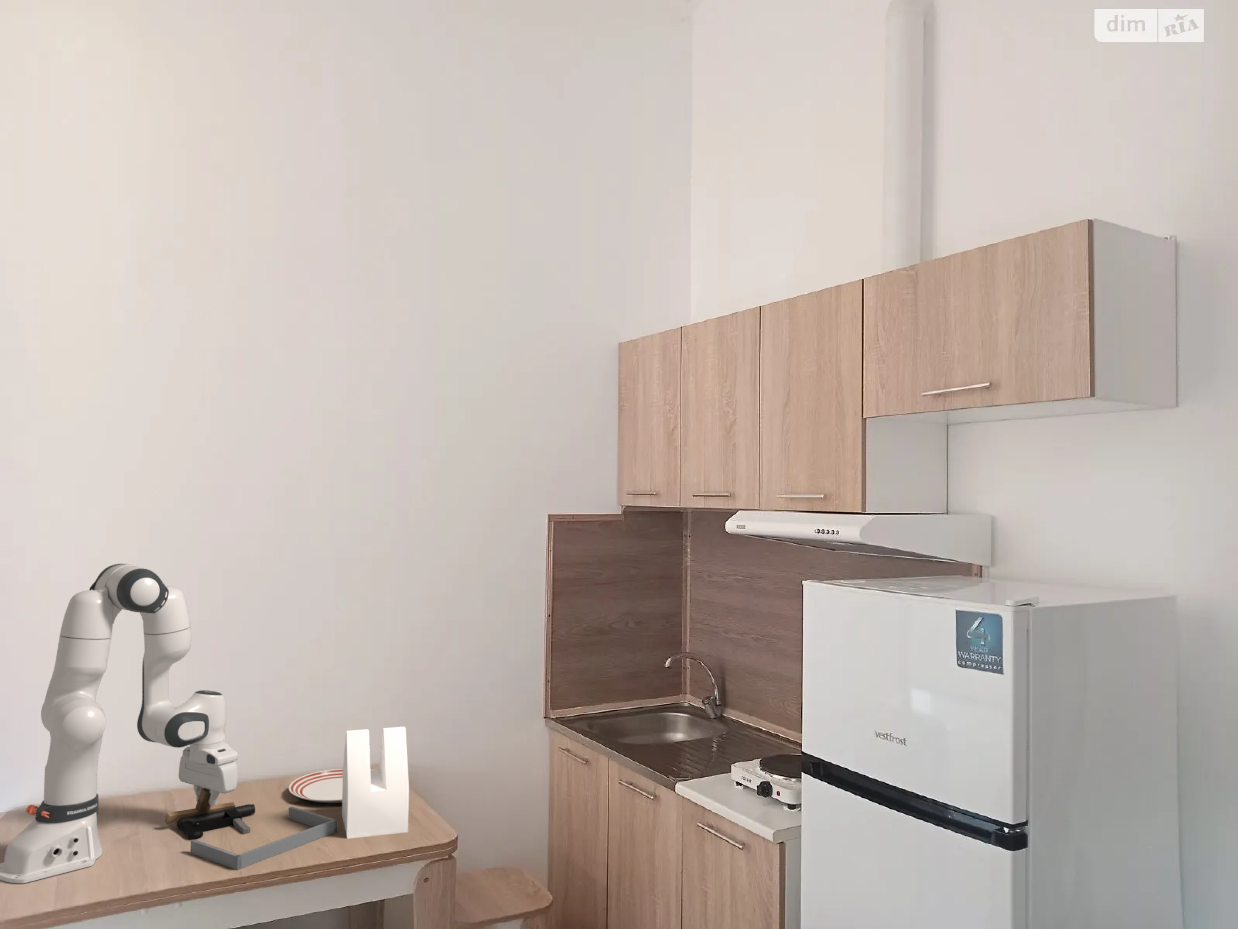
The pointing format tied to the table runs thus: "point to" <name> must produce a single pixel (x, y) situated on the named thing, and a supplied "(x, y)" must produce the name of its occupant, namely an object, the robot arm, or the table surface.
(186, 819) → the black angular piece
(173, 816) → the walnut scraper
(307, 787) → the dinner plate
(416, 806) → the table surface
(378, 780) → the white fork-shaped stand
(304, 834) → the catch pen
